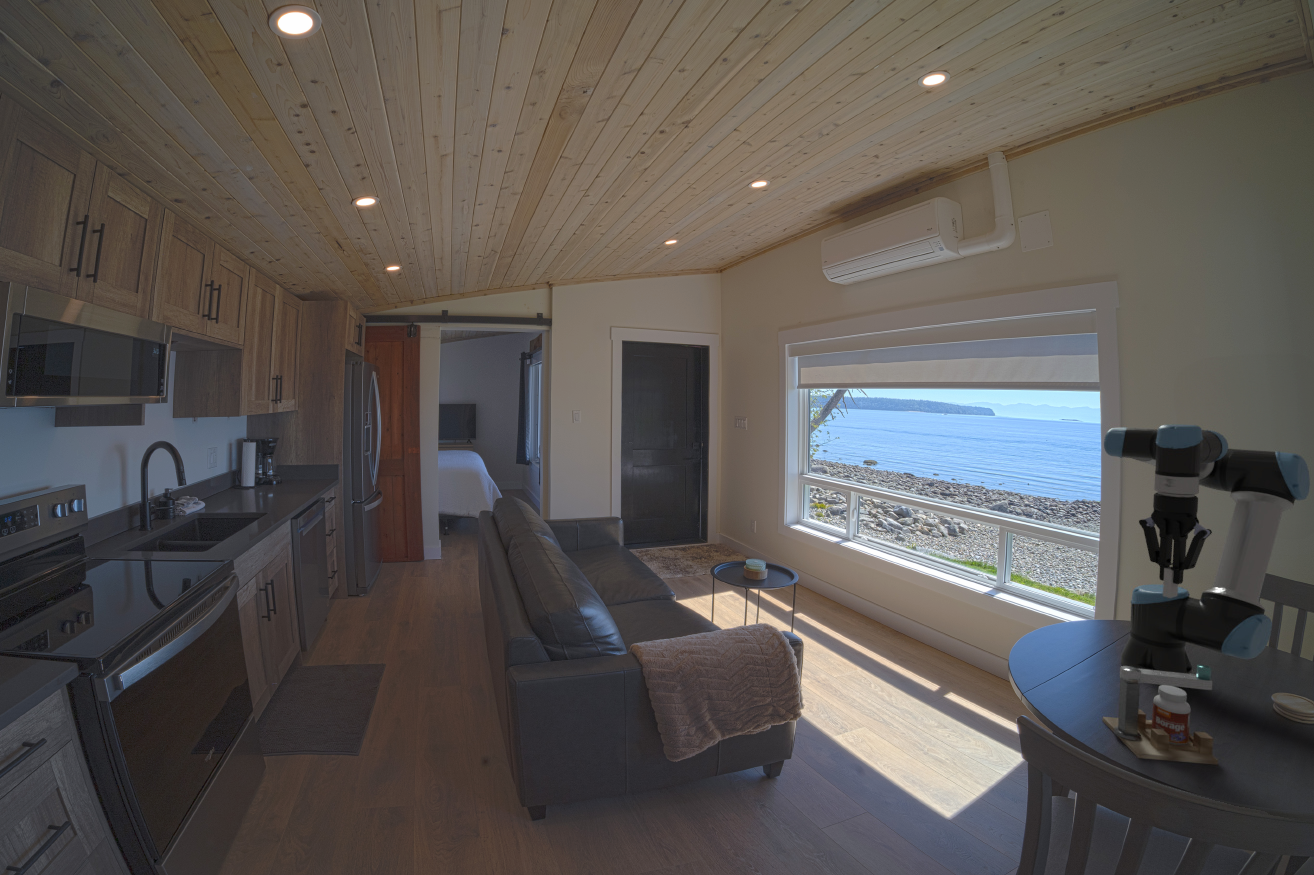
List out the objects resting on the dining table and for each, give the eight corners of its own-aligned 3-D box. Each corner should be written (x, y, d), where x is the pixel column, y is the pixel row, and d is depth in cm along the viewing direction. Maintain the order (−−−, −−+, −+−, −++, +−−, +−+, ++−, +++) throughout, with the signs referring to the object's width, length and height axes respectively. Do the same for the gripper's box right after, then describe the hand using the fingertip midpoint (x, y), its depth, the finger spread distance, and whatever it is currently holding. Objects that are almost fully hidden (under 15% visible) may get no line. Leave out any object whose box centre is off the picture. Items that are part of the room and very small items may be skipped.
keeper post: (1133, 729, 134) (1135, 676, 133) (1146, 742, 129) (1149, 687, 128) (1109, 727, 135) (1111, 674, 134) (1121, 740, 130) (1124, 685, 129)
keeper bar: (1123, 682, 130) (1124, 662, 129) (1116, 674, 133) (1117, 655, 133) (1214, 691, 125) (1215, 671, 125) (1204, 683, 128) (1205, 663, 128)
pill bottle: (1150, 739, 130) (1152, 691, 129) (1152, 726, 135) (1154, 680, 134) (1188, 750, 126) (1191, 700, 125) (1188, 737, 131) (1191, 689, 130)
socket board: (1173, 726, 137) (1174, 707, 136) (1218, 764, 123) (1219, 744, 123) (1102, 720, 139) (1103, 702, 139) (1138, 757, 126) (1139, 737, 125)
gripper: (1132, 490, 137) (1127, 589, 140) (1202, 500, 125) (1195, 608, 128) (1152, 487, 140) (1147, 584, 143) (1221, 496, 128) (1215, 602, 131)
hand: (1170, 595), depth 135 cm, fingers closed
